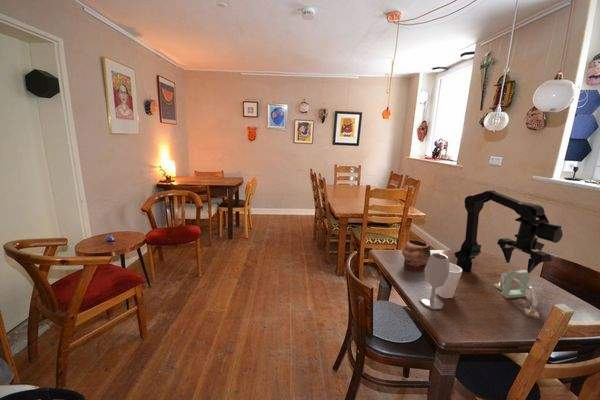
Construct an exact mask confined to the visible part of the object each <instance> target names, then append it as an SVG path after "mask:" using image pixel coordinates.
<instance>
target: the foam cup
mask: <svg viewBox="0 0 600 400" xmlns="http://www.w3.org/2000/svg"><path fill="white" fill-rule="evenodd" d="M462 273H463V271H462V269H461V268H460V267H459V266H457V265H456V263H455V264H454V263H452V262H449V275H448V278H447V280H446V282H445V284H444V285H443V286H440V287H437V288H436V290H435V294H437V295H438V296H440V297H441V298H443V299H447V298H451V299H453V297H454V294H455V292H456V289H457V286H458V283H459V282H460V278H462Z"/></svg>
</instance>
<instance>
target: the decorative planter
mask: <svg viewBox="0 0 600 400" xmlns="http://www.w3.org/2000/svg"><path fill="white" fill-rule="evenodd" d="M401 254H402V256H403V258H404V260H403V261H404V262H403V267H404V268H406V269H407V270H409V271H412V272H416V273H420V272H424V271H425V268H426V265H427V262H428V259H429V257H430V256H431V254H432V253H431V245H430V244H429V243H426V242H424V241H421V240H416V239H409V240H408V241H407V242H406V245H405V247H403V248H402V250H401Z"/></svg>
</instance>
